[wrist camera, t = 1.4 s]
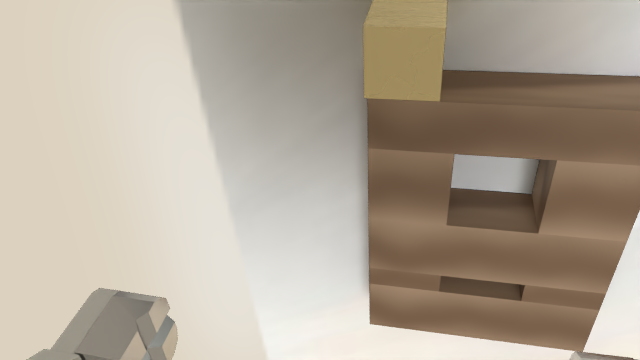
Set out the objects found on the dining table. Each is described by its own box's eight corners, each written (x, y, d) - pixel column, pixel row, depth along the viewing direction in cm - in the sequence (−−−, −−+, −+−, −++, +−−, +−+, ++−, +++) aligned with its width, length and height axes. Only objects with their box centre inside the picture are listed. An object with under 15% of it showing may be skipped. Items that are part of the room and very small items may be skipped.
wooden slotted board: (376, 68, 29) (367, 98, 26) (656, 77, 26) (678, 112, 23) (375, 286, 40) (369, 323, 37) (573, 309, 37) (582, 351, 34)
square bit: (386, -36, 26) (362, 26, 19) (449, -37, 25) (446, 27, 19) (385, 24, 27) (364, 98, 21) (444, 25, 27) (439, 101, 21)
